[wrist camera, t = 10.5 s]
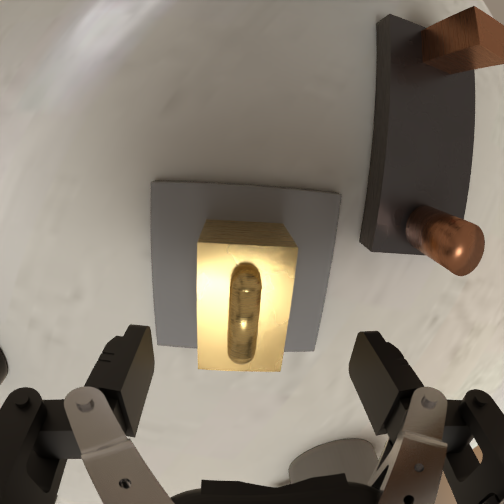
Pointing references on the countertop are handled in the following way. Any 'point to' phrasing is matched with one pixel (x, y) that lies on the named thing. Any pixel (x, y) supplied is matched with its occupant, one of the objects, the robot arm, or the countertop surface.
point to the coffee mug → (336, 461)
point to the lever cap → (243, 294)
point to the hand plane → (427, 137)
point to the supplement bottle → (2, 367)
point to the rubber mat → (237, 209)
